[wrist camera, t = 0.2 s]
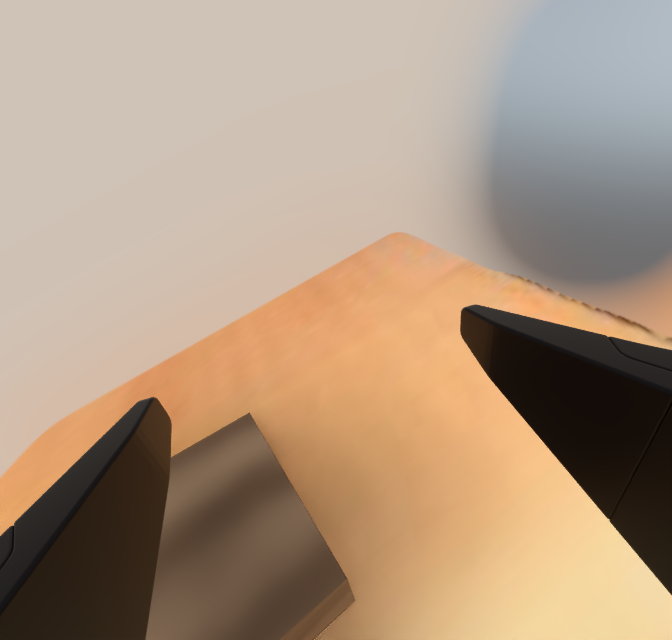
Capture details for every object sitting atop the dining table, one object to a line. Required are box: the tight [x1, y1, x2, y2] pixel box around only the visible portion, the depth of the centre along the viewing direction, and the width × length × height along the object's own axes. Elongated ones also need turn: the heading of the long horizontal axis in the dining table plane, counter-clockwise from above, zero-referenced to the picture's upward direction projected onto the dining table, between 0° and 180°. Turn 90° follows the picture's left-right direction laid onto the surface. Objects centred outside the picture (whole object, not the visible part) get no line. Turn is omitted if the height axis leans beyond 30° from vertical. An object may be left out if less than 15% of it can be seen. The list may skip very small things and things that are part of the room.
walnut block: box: [146, 413, 355, 640], centre depth 20 cm, size 14×14×3 cm
